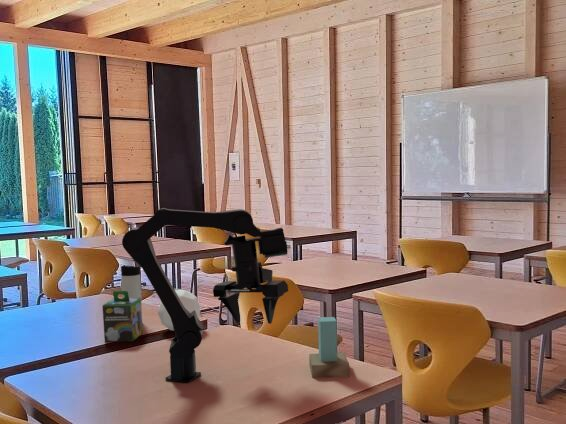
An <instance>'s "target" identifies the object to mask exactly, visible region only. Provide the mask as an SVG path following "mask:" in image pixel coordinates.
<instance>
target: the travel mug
mask: <svg viewBox="0 0 566 424" xmlns="http://www.w3.org/2000/svg"><path fill="white" fill-rule="evenodd" d="M120 272H121V274H120V277H121V278H120V282H121V283H120V284H121V291H127V292H128V295H129V298H141V299H142V284H141V282H142V280H141V266H140V265H138V266H135V265H121V266H120ZM124 297H125V296H124V295H123V294H121V298H124ZM142 306H143V304H142V302H141V313H142V314H143V308H142Z"/></svg>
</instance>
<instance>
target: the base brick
mask: <svg viewBox="0 0 566 424" xmlns="http://www.w3.org/2000/svg"><path fill="white" fill-rule="evenodd" d="M308 356H309V358H308V359H309V360H308V361H309V365H308V366H309V369H310V374H311V378H312V379H313V378H317V379H318V378H343V377H345V378H347V377H349V378H350V363H349V361H348V357H347V355H346V353H345V352H337V361H329V362H321V361H320V358H319V353H309V355H308Z"/></svg>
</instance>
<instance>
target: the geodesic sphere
mask: <svg viewBox="0 0 566 424" xmlns="http://www.w3.org/2000/svg"><path fill="white" fill-rule="evenodd" d="M173 288H174V290H175V292H176V293H177V295H178V297H179V299H180V301H181V302H182V304H183V306H184V307H185V308H186V309H187V310H188V311H189V312H190V313H191V312H192V311H194V310H195V311H196V314H197V317H198V319H199V320H200V315H201V305H200V302H199V299H198V297H197V296H196V295H195V294H194V293H192V292H191V291H188V290H184V289H182V288H176V287H173ZM157 315H158V317H159V319H160V323H161V325H163V326H164V327H165V328H167V329H168V330H170V331H171V332H172V331H173V332H174V328H173V324H172V321H171V318H170V316H169V314H168V312H167V310H166V309H165V307H164V305H163V303H162V302H161V301H160V302H159V306H158V310H157Z"/></svg>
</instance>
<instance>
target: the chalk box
mask: <svg viewBox="0 0 566 424" xmlns="http://www.w3.org/2000/svg"><path fill="white" fill-rule="evenodd" d="M122 294H123V295H124V296H125V297H124V298H122V297H119V295H122ZM112 295H113V299H111V300H108V301H107V302H106V303H104V304H102V320H103V321H102V322H103V334H104V342H123V343H124V342H127V343H128V342H131V343H133V342H135V340H137V339H138V337H140V336H141V335H142V334H143V333H144V330H143V329H144V328H143V312H142V313H141V303H142V297H141V298H129V295H128V292H127V291H122V290H114V291H113V292H112Z"/></svg>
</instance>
